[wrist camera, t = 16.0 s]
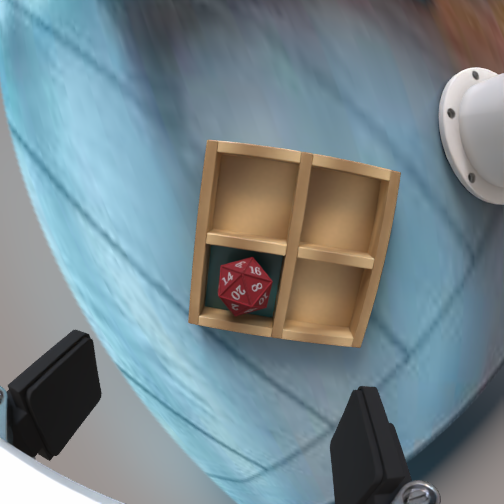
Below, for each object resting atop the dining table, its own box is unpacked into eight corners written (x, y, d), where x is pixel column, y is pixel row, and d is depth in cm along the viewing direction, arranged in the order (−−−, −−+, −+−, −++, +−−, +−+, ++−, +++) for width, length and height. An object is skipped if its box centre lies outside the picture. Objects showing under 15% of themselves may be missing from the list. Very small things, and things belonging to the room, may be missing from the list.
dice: (242, 240, 23) (235, 253, 19) (284, 281, 24) (286, 300, 20) (209, 274, 24) (196, 292, 20) (250, 312, 24) (245, 336, 21)
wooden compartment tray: (388, 173, 22) (401, 172, 19) (353, 332, 25) (360, 348, 22) (214, 143, 22) (207, 139, 20) (196, 310, 26) (188, 323, 23)
